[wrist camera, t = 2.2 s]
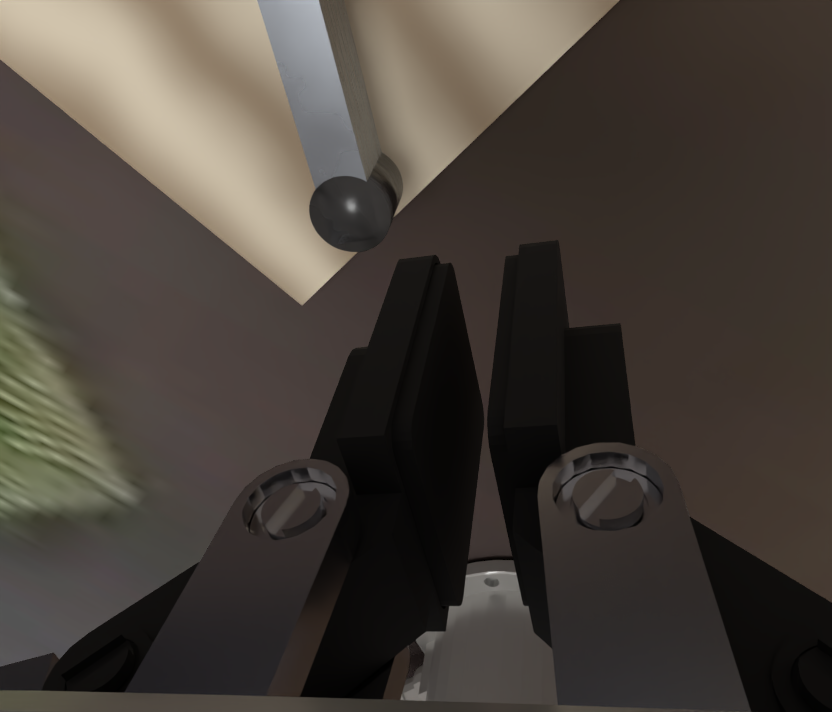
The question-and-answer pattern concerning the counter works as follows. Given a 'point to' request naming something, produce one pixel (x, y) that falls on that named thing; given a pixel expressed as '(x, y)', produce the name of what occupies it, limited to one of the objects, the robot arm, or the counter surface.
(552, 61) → the wooden cutting board
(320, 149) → the lever
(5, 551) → the counter surface
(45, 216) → the counter surface
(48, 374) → the counter surface
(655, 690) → the robot arm
